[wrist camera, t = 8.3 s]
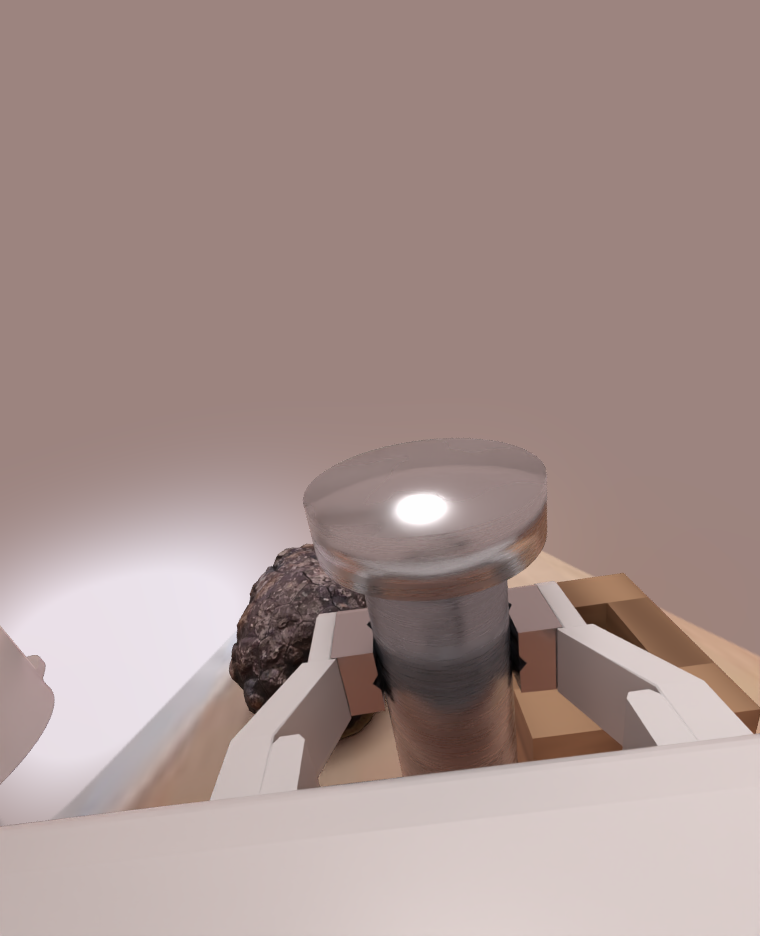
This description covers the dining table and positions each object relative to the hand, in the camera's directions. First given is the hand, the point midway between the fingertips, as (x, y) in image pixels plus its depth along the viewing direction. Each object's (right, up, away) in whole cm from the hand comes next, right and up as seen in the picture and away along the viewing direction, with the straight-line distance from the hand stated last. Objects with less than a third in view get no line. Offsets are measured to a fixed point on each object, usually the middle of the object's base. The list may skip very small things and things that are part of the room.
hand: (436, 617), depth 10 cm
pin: (+1, -5, +1) cm, 6 cm away
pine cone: (-7, -12, +22) cm, 26 cm away
